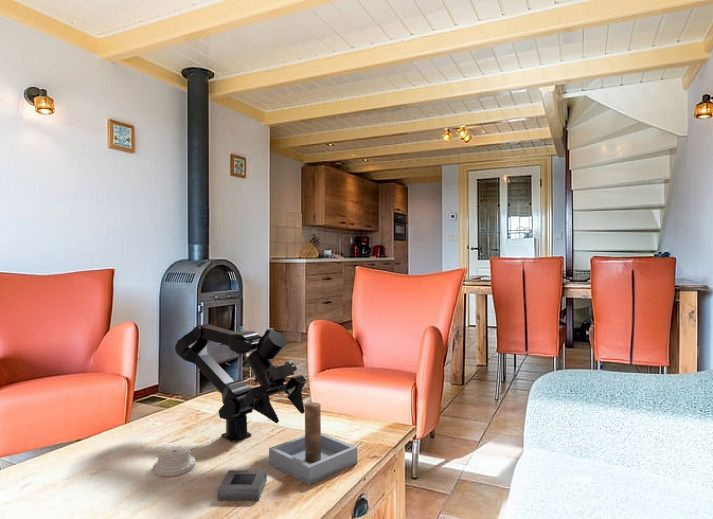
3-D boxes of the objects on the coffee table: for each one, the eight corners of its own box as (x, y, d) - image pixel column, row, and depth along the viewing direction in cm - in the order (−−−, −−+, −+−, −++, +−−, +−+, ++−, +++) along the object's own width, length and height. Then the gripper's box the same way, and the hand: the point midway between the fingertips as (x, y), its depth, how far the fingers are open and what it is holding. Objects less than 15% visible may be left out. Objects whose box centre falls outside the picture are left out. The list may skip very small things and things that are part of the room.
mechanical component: (144, 475, 116) (181, 479, 114) (144, 457, 116) (181, 461, 114) (168, 458, 126) (202, 461, 124) (168, 441, 126) (202, 444, 124)
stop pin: (303, 462, 120) (302, 407, 120) (307, 455, 124) (307, 402, 124) (318, 463, 120) (318, 408, 119) (322, 456, 124) (322, 402, 123)
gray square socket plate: (217, 500, 104) (217, 489, 104) (228, 480, 113) (228, 470, 113) (258, 500, 104) (258, 489, 104) (266, 480, 113) (266, 470, 113)
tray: (269, 463, 122) (268, 448, 122) (316, 445, 133) (316, 431, 133) (309, 484, 111) (309, 467, 111) (357, 462, 122) (357, 447, 122)
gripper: (249, 358, 123) (278, 409, 116) (301, 346, 137) (330, 392, 130) (231, 383, 128) (257, 434, 121) (283, 369, 142) (310, 414, 135)
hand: (290, 417), depth 127 cm, fingers open, 9 cm apart
